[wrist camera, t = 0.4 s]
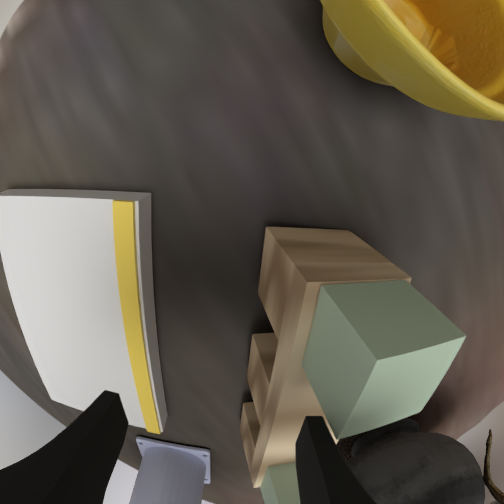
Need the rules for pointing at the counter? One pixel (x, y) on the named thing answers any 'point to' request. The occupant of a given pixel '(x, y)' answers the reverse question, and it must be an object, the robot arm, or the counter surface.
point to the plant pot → (425, 49)
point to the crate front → (376, 353)
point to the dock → (86, 295)
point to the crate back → (280, 485)
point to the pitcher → (419, 467)
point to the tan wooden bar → (296, 333)
